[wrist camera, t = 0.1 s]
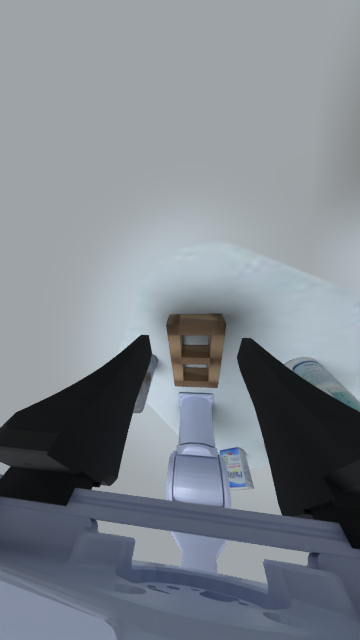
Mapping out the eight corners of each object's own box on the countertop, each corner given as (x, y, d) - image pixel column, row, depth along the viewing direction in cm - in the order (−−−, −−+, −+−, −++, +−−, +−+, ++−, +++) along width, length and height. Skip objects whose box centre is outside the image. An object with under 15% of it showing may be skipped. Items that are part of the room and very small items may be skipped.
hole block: (215, 373, 27) (217, 387, 24) (176, 372, 28) (174, 386, 25) (221, 313, 20) (226, 324, 17) (169, 314, 21) (166, 325, 18)
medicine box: (238, 446, 46) (246, 486, 38) (245, 450, 47) (254, 490, 40) (219, 450, 49) (224, 488, 42) (226, 454, 50) (232, 491, 43)
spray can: (327, 357, 23) (752, 724, 5) (308, 381, 26) (534, 654, 9) (287, 355, 23) (562, 687, 6) (273, 378, 26) (424, 633, 9)
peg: (158, 364, 27) (145, 413, 19) (144, 364, 27) (125, 412, 19) (156, 353, 25) (140, 402, 18) (141, 353, 26) (119, 401, 18)
